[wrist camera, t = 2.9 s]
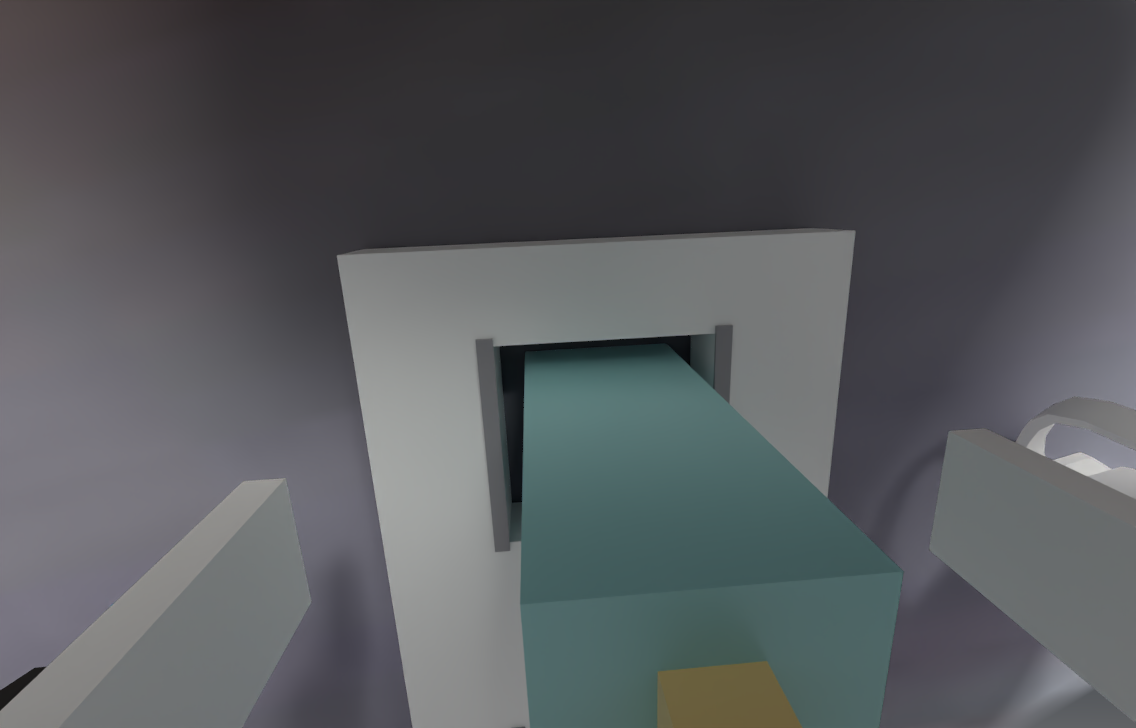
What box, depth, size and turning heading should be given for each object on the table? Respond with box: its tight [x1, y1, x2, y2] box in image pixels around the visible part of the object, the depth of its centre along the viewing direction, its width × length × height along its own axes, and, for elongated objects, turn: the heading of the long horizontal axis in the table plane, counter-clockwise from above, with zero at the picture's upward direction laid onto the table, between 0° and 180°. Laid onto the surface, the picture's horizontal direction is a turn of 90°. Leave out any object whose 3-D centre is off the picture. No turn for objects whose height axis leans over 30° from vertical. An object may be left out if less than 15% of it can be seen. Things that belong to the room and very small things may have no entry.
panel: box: [337, 228, 855, 728], centre depth 16 cm, size 22×12×2 cm, turn 2°
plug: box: [520, 343, 904, 728], centre depth 10 cm, size 4×4×12 cm
